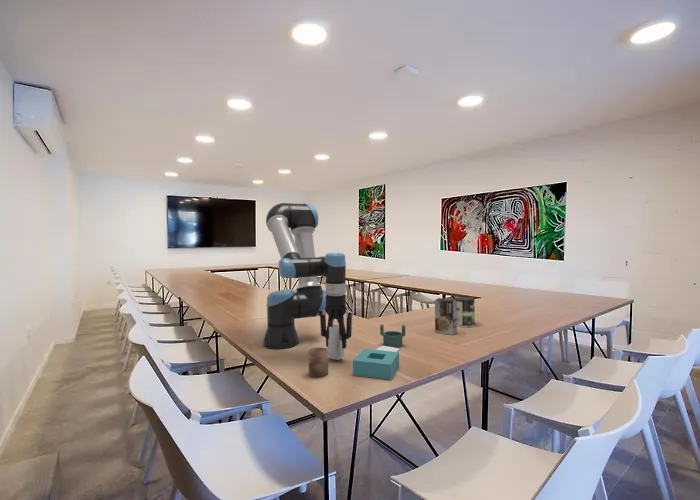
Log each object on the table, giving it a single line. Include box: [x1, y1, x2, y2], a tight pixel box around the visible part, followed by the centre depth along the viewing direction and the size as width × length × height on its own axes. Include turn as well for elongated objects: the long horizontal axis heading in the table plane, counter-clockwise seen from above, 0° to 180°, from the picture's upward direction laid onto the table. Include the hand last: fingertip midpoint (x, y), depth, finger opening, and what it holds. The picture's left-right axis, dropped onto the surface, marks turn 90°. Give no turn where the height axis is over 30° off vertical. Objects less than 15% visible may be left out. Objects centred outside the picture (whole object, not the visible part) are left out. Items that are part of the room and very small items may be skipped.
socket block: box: [352, 348, 400, 381], centre depth 119 cm, size 13×13×5 cm
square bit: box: [328, 323, 342, 361], centre depth 130 cm, size 4×4×12 cm
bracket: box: [379, 324, 406, 349], centre depth 148 cm, size 9×9×9 cm
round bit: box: [308, 347, 329, 379], centre depth 117 cm, size 6×6×8 cm
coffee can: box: [453, 296, 476, 328], centre depth 181 cm, size 10×10×14 cm
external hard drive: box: [375, 345, 401, 353], centre depth 137 cm, size 2×8×12 cm
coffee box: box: [434, 297, 458, 336], centre depth 166 cm, size 9×6×16 cm
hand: (336, 355), depth 130 cm, fingers closed on square bit, 4 cm apart
